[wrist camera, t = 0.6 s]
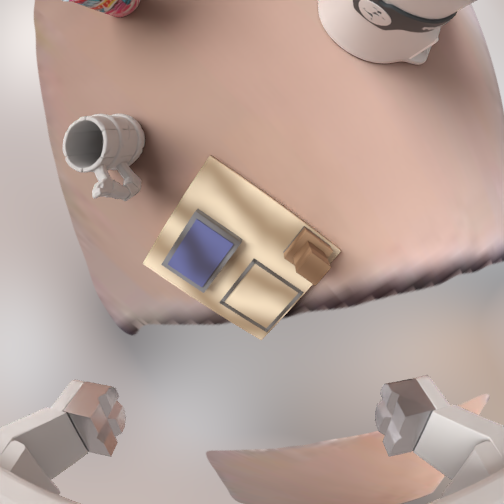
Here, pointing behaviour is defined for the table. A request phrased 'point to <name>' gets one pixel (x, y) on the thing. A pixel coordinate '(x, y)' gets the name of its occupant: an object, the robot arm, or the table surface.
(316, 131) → the table surface
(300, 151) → the table surface
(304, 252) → the stamp
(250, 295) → the board
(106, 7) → the cup
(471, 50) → the table surface
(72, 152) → the mug
